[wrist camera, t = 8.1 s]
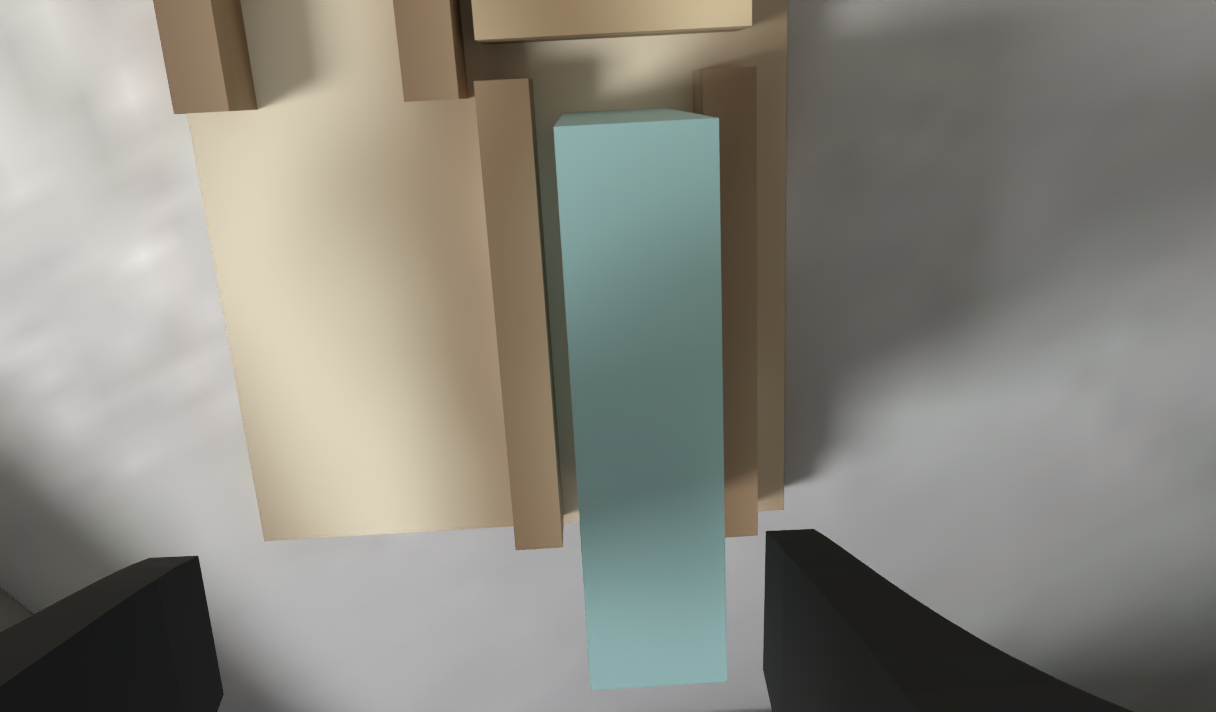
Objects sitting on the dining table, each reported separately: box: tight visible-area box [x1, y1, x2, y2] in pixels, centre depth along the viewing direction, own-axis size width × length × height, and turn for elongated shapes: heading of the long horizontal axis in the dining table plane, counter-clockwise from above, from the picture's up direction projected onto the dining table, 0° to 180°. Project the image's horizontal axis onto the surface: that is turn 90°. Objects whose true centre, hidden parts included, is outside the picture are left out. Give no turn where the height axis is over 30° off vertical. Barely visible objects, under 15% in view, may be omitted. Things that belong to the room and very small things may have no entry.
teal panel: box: [553, 107, 727, 690], centre depth 15 cm, size 2×8×8 cm, turn 3°
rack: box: [153, 0, 787, 550], centre depth 17 cm, size 12×19×2 cm, turn 3°
